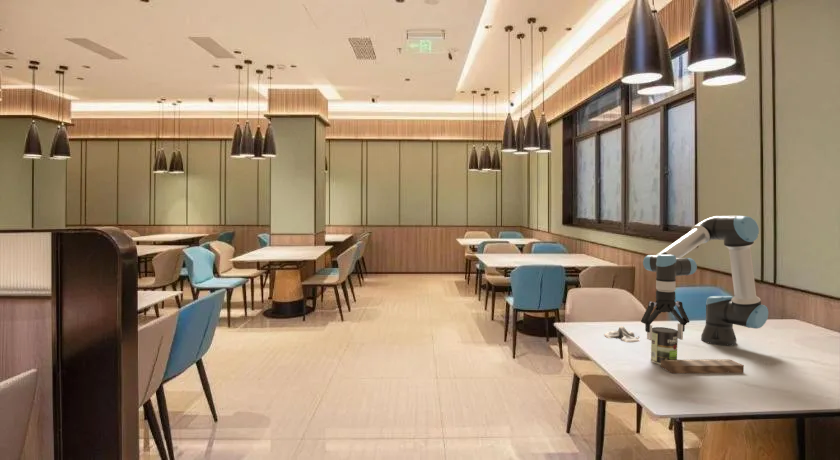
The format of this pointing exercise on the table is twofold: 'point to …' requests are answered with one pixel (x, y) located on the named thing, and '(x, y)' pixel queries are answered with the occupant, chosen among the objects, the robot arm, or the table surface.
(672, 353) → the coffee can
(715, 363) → the walnut plank
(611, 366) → the table surface
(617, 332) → the cloth
